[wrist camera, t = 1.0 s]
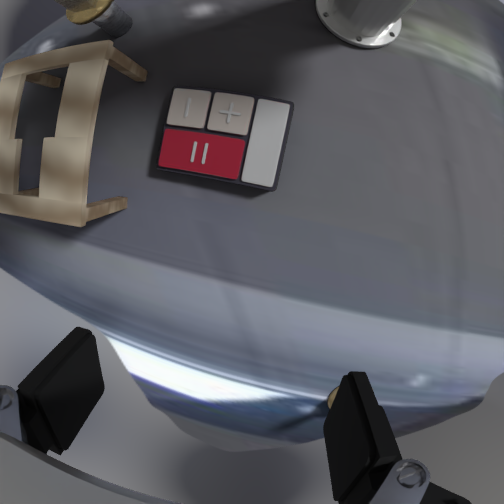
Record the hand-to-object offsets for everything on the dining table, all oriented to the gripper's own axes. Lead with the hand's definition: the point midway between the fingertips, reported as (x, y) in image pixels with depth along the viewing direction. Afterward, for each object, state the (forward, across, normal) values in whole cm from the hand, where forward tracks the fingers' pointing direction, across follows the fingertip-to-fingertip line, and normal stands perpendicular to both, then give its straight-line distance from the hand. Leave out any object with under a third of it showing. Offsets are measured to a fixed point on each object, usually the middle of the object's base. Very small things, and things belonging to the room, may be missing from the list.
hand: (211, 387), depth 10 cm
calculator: (+31, +5, -11) cm, 33 cm away
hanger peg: (+30, +23, -28) cm, 47 cm away
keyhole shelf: (+30, +26, -10) cm, 41 cm away
